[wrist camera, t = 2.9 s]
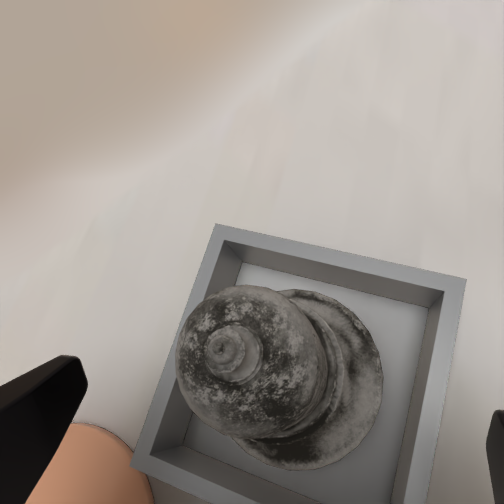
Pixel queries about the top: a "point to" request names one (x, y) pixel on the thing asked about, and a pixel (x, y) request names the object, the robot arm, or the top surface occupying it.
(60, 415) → the robot arm
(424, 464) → the tub
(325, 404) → the grey tall domed piece
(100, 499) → the coaster
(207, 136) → the top surface
